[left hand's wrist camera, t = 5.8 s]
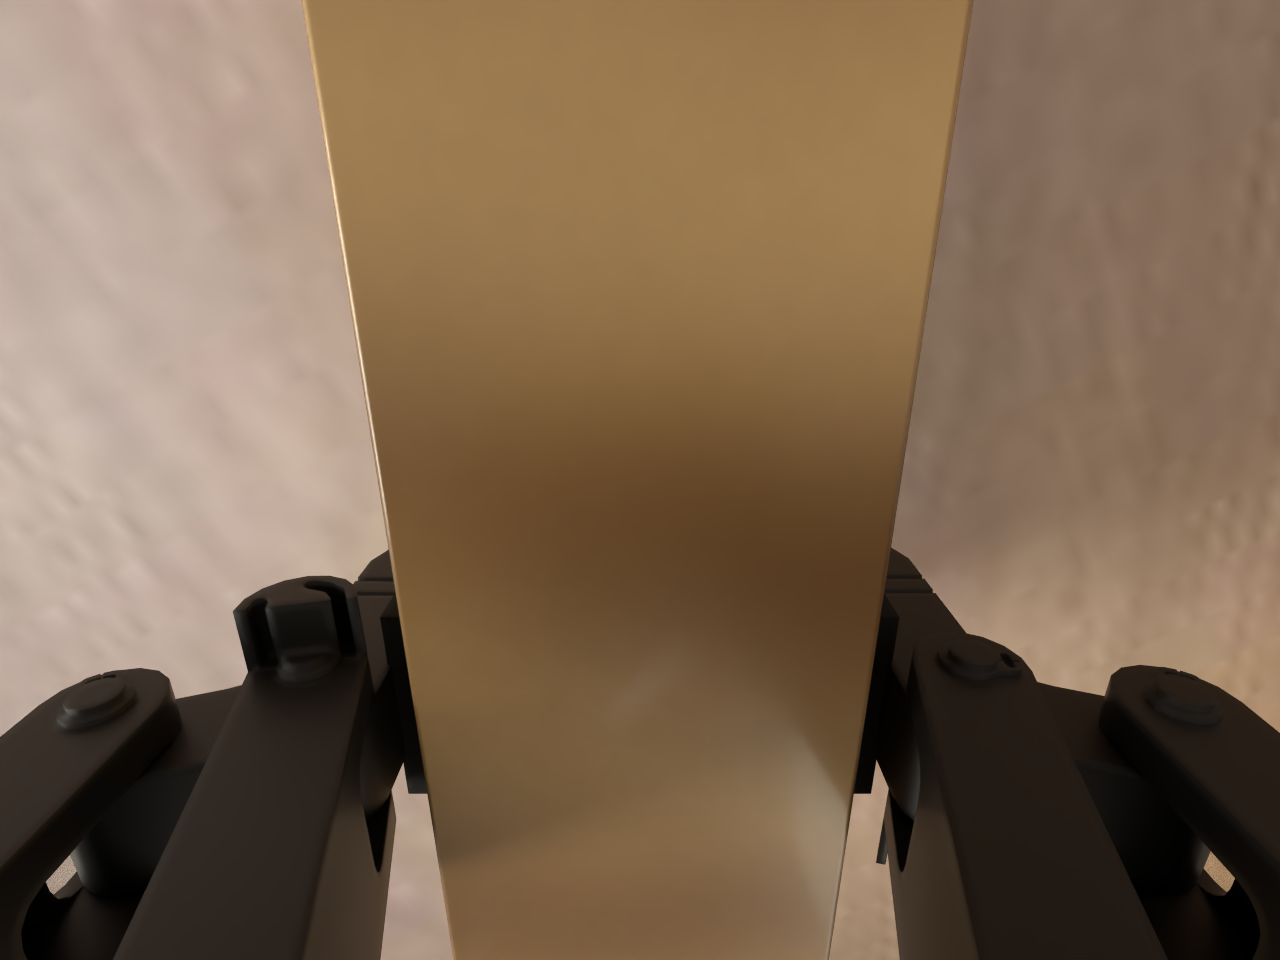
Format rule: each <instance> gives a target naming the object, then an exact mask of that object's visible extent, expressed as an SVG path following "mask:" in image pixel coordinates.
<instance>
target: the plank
mask: <svg viewBox="0 0 1280 960" xmlns="http://www.w3.org/2000/svg"><path fill="white" fill-rule="evenodd" d="M302 4H303V11H304V17H305V23H306V30H307V36H308V42H309V49H310V55H311V61H312V68H313V74H314V80H315V86H316V93H317V99H318V105H319V112H320V118H321V124H322V131H323V137H324V143H325V150H326V156H327V162H328V169H329V175H330V181H331V187H332V194H333V200H334V206H335V213H336V219H337V225H338V232H339V238H340V244H341V251H342V257H343V263H344V270H345V276H346V282H347V288H348V295H349V301H350V307H351V314H352V320H353V326H354V333H355V339H356V345H357V352H358V358H359V364H360V370H361V377H362V383H363V389H364V396H365V402H366V408H367V415H368V421H369V427H370V434H371V440H372V446H373V453H374V459H375V465H376V471H377V478H378V484H379V490H380V497H381V503H382V509H383V516H384V522H385V528H386V535H387V541H388V547H389V554H390V560H391V566H392V572H393V579H394V585H395V591H396V598H397V604H398V610H399V617H400V623H401V629H402V636H403V642H404V648H405V654H406V661H407V667H408V673H409V680H410V686H411V692H412V699H413V705H414V711H415V718H416V724H417V730H418V737H419V743H420V749H421V755H422V762H423V768H424V774H425V781H426V787H427V793H428V800H429V806H430V812H431V819H432V825H433V831H434V837H435V844H436V850H437V856H438V863H439V869H440V875H441V882H442V888H443V894H444V901H445V907H446V913H447V920H448V926H449V932H450V938H451V945H452V951H453V957H454V960H829V954H830V948H831V941H832V934H833V928H834V921H835V915H836V908H837V901H838V895H839V888H840V881H841V875H842V868H843V861H844V855H845V848H846V842H847V835H848V828H849V822H850V815H851V808H852V802H853V795H854V788H855V782H856V775H857V768H858V762H859V755H860V749H861V742H862V735H863V729H864V722H865V715H866V709H867V702H868V695H869V689H870V682H871V676H872V669H873V662H874V656H875V649H876V642H877V636H878V629H879V622H880V616H881V609H882V603H883V596H884V589H885V583H886V576H887V569H888V563H889V556H890V549H891V543H892V536H893V529H894V523H895V516H896V510H897V503H898V496H899V490H900V483H901V476H902V470H903V463H904V456H905V450H906V443H907V437H908V430H909V423H910V417H911V410H912V403H913V397H914V390H915V383H916V377H917V370H918V364H919V357H920V350H921V344H922V337H923V330H924V324H925V317H926V310H927V304H928V297H929V291H930V284H931V277H932V271H933V264H934V257H935V251H936V244H937V237H938V231H939V224H940V217H941V211H942V204H943V198H944V191H945V184H946V178H947V171H948V164H949V158H950V151H951V144H952V138H953V131H954V125H955V118H956V111H957V105H958V98H959V91H960V85H961V78H962V71H963V65H964V58H965V52H966V45H967V38H968V32H969V25H970V18H971V12H972V5H973V0H302Z"/></svg>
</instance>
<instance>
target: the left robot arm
mask: <svg viewBox="0 0 1280 960" xmlns="http://www.w3.org/2000/svg"><path fill="white" fill-rule="evenodd" d="M233 614H234V618H235V622H236V626H237V630H238V634H239V638H240V642H241V645H242V649H243V653H244V657H245V661H246V665H247V669H248V674H247V676H246V678H245V680H244V682H243V684H242V685H241V686H237V687H233V688H229V689H225V690H220V691H215V692H210V693H205V694H199V695H194V696H189V697H184V698H179V699H175V696H174V693H173V690H172V686H171V683H170V680H169V678H168V677H166V676H165V675H164V674H162V673H161V672H160V671H156V670H150V669H143V668H137V669H127V670H116V671H111V672H106V673H104V674H103V675H100V674H98V675H95V676H92V677H89V678H87V679H84V680H83V681H82V682H80V683H77V684H75V685H73V686H71V687H68V688H66V689H64V690H62V691H60V692H59V693H57V694H56V695H54V696H53V697H51V698H50V699H48V700H47V701H45V702H43V703H42V704H40V705H39V706H38V707H36V708H35V709H34V710H33V711H32V712H30V713H29V714H28V715H27V716H25V717H24V718H23V719H22V720H21V721H19V722H18V723H17V724H16V725H14V726H13V727H12V728H11V729H10V730H8V731H7V732H6V733H5V734H3V735H2V736H1V737H0V960H380V957H381V949H382V940H383V931H384V922H385V913H386V905H387V896H388V887H389V878H390V869H391V861H392V852H393V843H394V834H395V825H396V815H395V808H394V802H393V796H392V787H393V785H394V783H395V780H396V778H397V775H398V773H399V771H400V768H401V766H402V764H403V762H404V768H405V775H406V781H407V787H408V793H409V794H428V793H427V787H426V781H425V774H424V768H423V762H422V755H421V749H420V743H419V737H418V730H417V724H416V718H415V711H414V705H413V699H412V692H411V686H410V680H409V673H408V667H407V661H406V654H405V648H404V642H403V636H402V629H401V623H400V617H399V610H398V604H397V598H396V591H395V585H394V579H393V572H392V566H391V560H390V554H389V550H388V551H386V552H384V553H383V554H381V555H380V556H378V557H376V558H375V559H373V560H372V561H371V562H370V563H369V564H368V565H367V567H366V568H365V569H364V571H363V572H362V573H361V575H360V576H359V577H358V581H355V582H354V584H351V583H350V582H349V581H347V580H346V579H342V578H337V577H333V576H307V577H301V578H296V579H291V580H285V581H282V582H280V583H277V584H274V585H271V586H268V587H266V588H263V589H261V590H259V591H258V592H256V593H254V594H252V595H251V596H249V597H247V598H246V599H244V600H243V601H242V602H241V603H240V604H239V605H238V606H237V607H236V609H235V610H234V611H233ZM876 759H877V762H878V764H879V766H880V769H881V771H882V773H883V776H884V778H885V780H886V783H887V785H888V787H889V790H888V796H887V802H886V808H885V813H884V819H883V825H882V831H881V836H880V842H879V848H878V854H877V861H876V863H880V864H885V863H886V858H887V853H888V859H889V868H890V877H891V885H892V894H893V903H894V912H895V920H896V929H897V938H898V947H899V955H900V960H1280V733H1279V732H1278V731H1277V730H1275V729H1274V728H1273V727H1272V726H1270V725H1269V724H1268V723H1267V722H1265V721H1264V720H1263V719H1262V718H1261V717H1259V716H1258V715H1257V714H1256V713H1254V712H1253V711H1252V710H1251V709H1249V708H1248V707H1247V706H1246V705H1245V704H1243V703H1242V702H1241V701H1239V700H1238V699H1236V698H1235V697H1233V696H1231V695H1230V694H1228V693H1227V692H1225V691H1224V690H1222V689H1221V688H1219V687H1217V686H1215V685H1213V684H1210V683H1208V682H1206V681H1204V680H1201V679H1199V678H1198V677H1197V676H1195V675H1192V674H1189V673H1186V672H1183V671H1180V672H1179V671H1177V670H1176V669H1171V668H1166V667H1155V666H1145V665H1136V666H1129V667H1123V668H1120V669H1119V670H1118V671H1116V672H1115V673H1114V674H1112V675H1111V678H1110V681H1109V684H1108V687H1107V691H1106V694H1105V696H1101V695H1096V694H1091V693H1086V692H1080V691H1075V690H1070V689H1065V688H1060V687H1055V686H1051V685H1047V684H1043V683H1039V682H1037V681H1036V679H1035V677H1034V674H1033V672H1032V671H1031V669H1030V668H1029V667H1028V666H1027V664H1026V663H1025V662H1024V661H1023V659H1022V658H1021V657H1019V656H1018V655H1017V654H1015V653H1014V652H1012V651H1011V650H1009V649H1008V648H1006V647H1005V646H1003V645H1001V644H998V643H996V642H993V641H991V640H989V639H986V638H984V637H980V636H976V635H971V634H967V633H966V632H965V631H964V630H963V628H962V627H961V626H960V624H959V623H958V622H957V620H956V619H955V618H954V617H953V615H952V614H951V613H950V611H949V610H948V609H947V608H946V606H945V605H944V604H943V602H942V601H941V600H940V598H939V597H938V596H937V595H936V593H933V589H932V588H931V587H930V586H929V584H928V583H927V582H926V580H925V579H922V575H921V574H920V573H919V571H918V570H917V569H916V567H915V566H914V565H913V563H912V562H911V561H910V560H909V558H907V557H905V556H904V555H902V554H901V553H899V552H897V551H896V550H894V549H893V548H891V549H890V556H889V563H888V569H887V576H886V583H885V589H884V596H883V603H882V609H881V616H880V622H879V629H878V636H877V642H876V649H875V656H874V662H873V669H872V676H871V682H870V689H869V695H868V702H867V709H866V715H865V722H864V729H863V735H862V742H861V749H860V755H859V762H858V768H857V775H856V782H855V788H854V794H871V790H872V783H873V777H874V771H875V765H876ZM1210 851H1211V852H1212V853H1213V854H1214V855H1215V856H1216V857H1217V858H1218V859H1219V861H1220V862H1221V863H1222V864H1223V865H1224V866H1225V867H1226V868H1227V869H1228V871H1229V872H1230V873H1231V874H1232V875H1233V876H1234V877H1235V880H1234V882H1233V885H1232V887H1231V889H1230V890H1229V891H1228V892H1226V891H1224V890H1223V889H1222V888H1221V887H1220V886H1219V885H1218V884H1217V883H1216V882H1215V881H1214V880H1213V879H1212V878H1211V877H1210V876H1209V874H1208V873H1207V872H1206V871H1205V870H1204V869H1203V868H1204V866H1205V863H1206V861H1207V859H1208V856H1209V854H1210ZM69 855H70V856H71V858H72V860H73V863H74V865H75V868H76V870H77V872H76V873H75V874H74V875H73V877H72V878H71V879H70V880H69V881H68V882H67V884H66V885H65V886H63V887H62V888H61V889H60V890H59V891H57V892H56V893H55V894H54V895H53V894H52V893H51V892H50V891H49V889H48V886H47V884H46V881H47V880H48V879H49V877H50V876H51V875H52V874H53V873H54V872H55V871H56V870H57V868H58V867H59V866H60V865H61V864H62V863H63V862H64V861H65V859H66V858H67V857H68V856H69Z"/></svg>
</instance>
